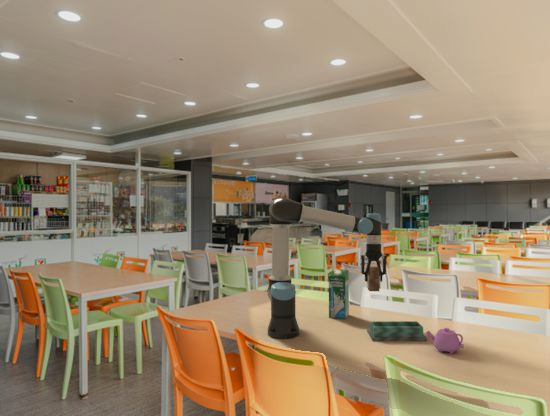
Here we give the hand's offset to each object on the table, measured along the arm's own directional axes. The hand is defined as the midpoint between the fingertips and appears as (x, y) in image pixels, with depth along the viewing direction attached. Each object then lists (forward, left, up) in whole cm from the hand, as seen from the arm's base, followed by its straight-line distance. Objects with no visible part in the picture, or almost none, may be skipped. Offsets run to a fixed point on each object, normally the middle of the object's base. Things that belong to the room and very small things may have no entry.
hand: (373, 287), depth 213 cm
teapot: (+21, -41, -18) cm, 49 cm away
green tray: (+5, -24, -18) cm, 30 cm away
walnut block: (0, 0, -1) cm, 1 cm away
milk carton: (-17, +10, -18) cm, 26 cm away
